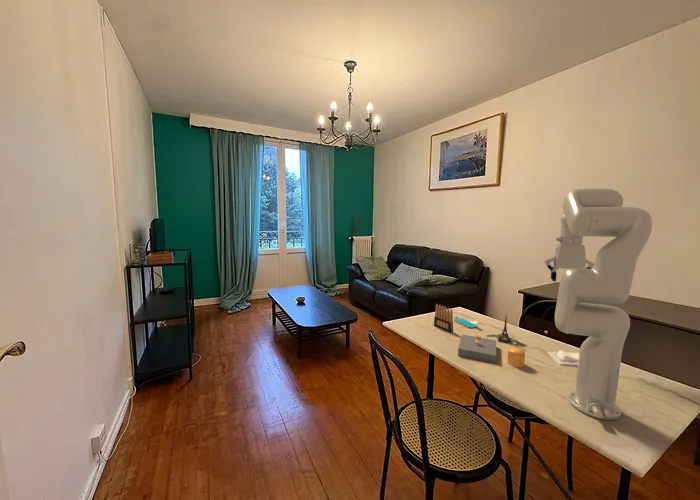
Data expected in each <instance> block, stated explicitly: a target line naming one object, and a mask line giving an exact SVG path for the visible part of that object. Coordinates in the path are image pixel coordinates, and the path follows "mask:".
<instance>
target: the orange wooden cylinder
mask: <svg viewBox="0 0 700 500" xmlns="http://www.w3.org/2000/svg"><path fill="white" fill-rule="evenodd" d="M507 350H508V351H507V360H506V361H507V364H508V365H510V366H512V367H515V368H523V367H525V359H526V355H525V354H526V350H524V349H522V348H519V347H512V346H511V347H508V348H507Z"/></svg>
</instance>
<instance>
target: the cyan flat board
mask: <svg viewBox="0 0 700 500" xmlns="http://www.w3.org/2000/svg"><path fill="white" fill-rule="evenodd" d="M472 321H473V322H472ZM453 322H455V323H457V324H458V323H459V324H458V325H460V324H461V325H460V326H462V325H463V327H464V326H465V328H466V327H467V329H468V328H470V329H476V330H479V331H483V329H481V328H479V326H478V324H477V323H479V324H480V322H479V321H477V320H471V321H469V320H467V319H465V318H460V317H456V316H454V317H453Z"/></svg>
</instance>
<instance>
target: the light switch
mask: <svg viewBox="0 0 700 500" xmlns="http://www.w3.org/2000/svg"><path fill="white" fill-rule="evenodd" d="M579 353H580V352H572V351H570V352H568V351H565V350H562V349H560V350H558V351H548V352H547V354H548V355H549V356H550V358H552V359H553V361H555V362H556V363H557V365H559V366H567V367H569V366H570V367H577V368H578V361H579Z"/></svg>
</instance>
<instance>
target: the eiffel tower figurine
mask: <svg viewBox="0 0 700 500" xmlns="http://www.w3.org/2000/svg"><path fill="white" fill-rule="evenodd" d="M504 317H505V319H504V327H503V329H502V332H501V333H500V334H499V333H498V334H497V335H495V334H487V335H485V337H487V338H497V343H501V344H506V345H512V343H514V345H515V346H518V347H521V348H524V347H527V346H528V345H527V344H524V343H522V342H521V341H518V340H516V339H515V338H512V337H510V336H509V334H508V327H507V318H508V317H507V315H505V316H504Z"/></svg>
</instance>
